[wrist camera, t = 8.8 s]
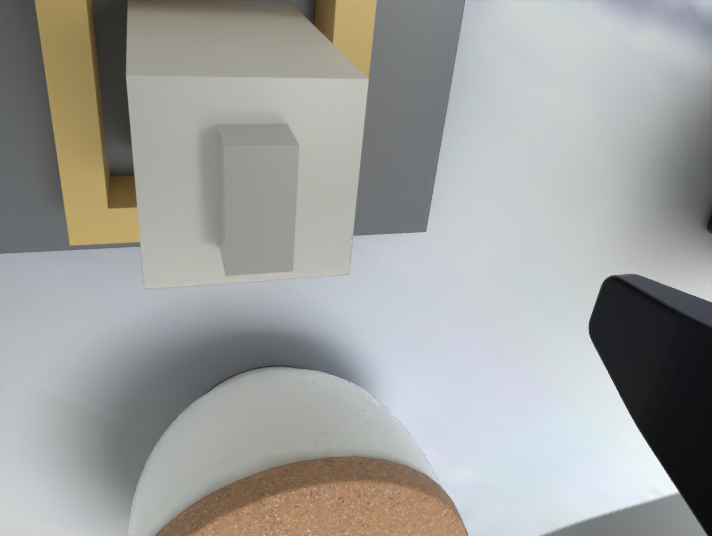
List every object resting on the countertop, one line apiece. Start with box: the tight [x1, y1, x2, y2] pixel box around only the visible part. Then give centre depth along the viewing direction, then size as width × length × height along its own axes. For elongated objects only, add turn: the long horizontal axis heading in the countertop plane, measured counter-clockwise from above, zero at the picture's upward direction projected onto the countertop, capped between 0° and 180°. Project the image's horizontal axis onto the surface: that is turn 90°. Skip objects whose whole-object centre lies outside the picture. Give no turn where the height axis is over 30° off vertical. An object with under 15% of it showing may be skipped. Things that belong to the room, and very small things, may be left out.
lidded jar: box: [127, 366, 468, 536], centre depth 22 cm, size 11×11×9 cm
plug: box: [126, 0, 369, 289], centre depth 14 cm, size 4×4×8 cm
